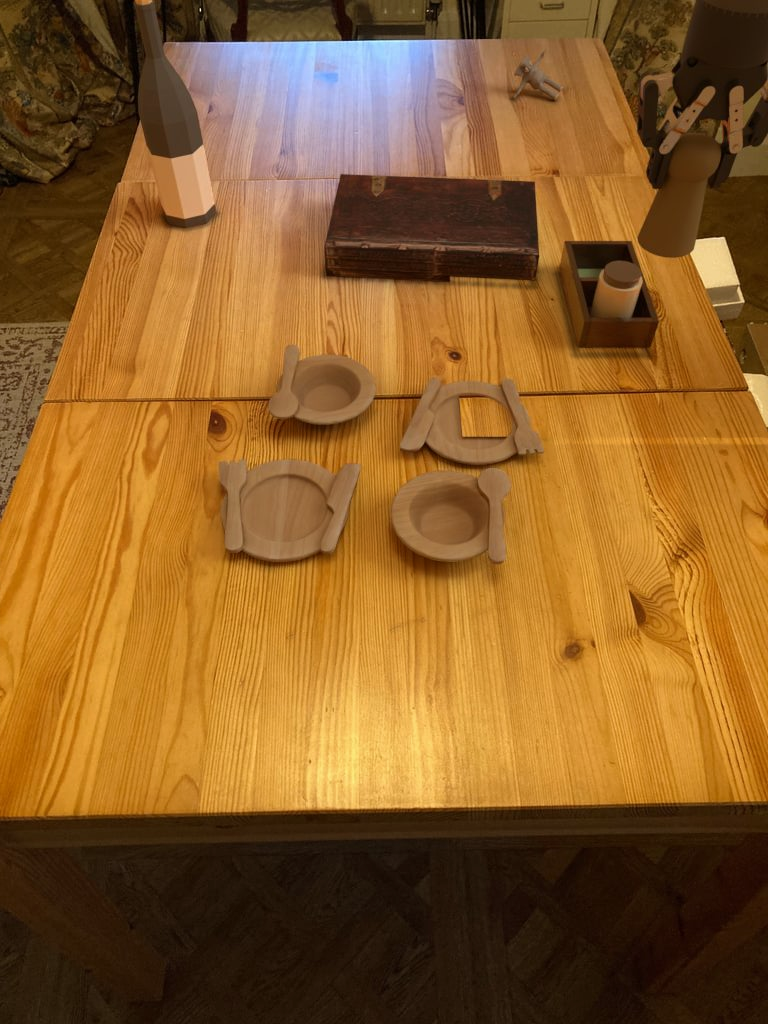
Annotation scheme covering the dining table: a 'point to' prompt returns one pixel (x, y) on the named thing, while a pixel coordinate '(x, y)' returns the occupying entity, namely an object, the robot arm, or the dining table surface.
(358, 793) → the dining table surface
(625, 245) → the box
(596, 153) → the dining table surface
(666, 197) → the pepper mill
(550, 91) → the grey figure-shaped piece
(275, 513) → the tableware set
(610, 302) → the spice pot
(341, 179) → the hardback book
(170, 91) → the wine bottle
